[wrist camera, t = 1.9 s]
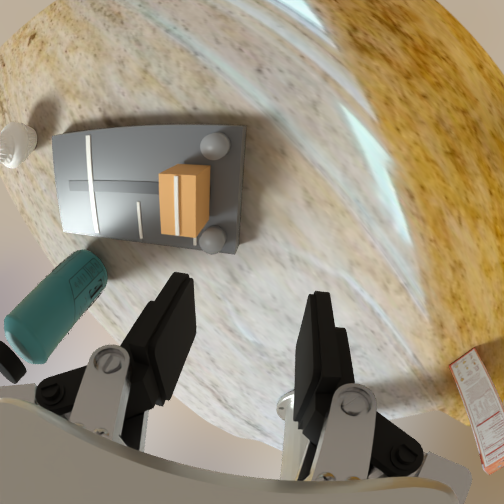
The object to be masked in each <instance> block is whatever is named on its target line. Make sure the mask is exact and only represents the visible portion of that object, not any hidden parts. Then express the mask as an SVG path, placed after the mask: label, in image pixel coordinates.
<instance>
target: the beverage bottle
mask: <svg viewBox="0 0 504 504" xmlns="http://www.w3.org/2000/svg"><path fill="white" fill-rule="evenodd" d="M107 279H108V277H107V272H106V269H105V267H104V265H103V263H102V262H101V260H100V259H99V258H98V257H97V256H96V255H95V254H93V253H92V252H90V251H88V250H77V251H76V252H73V253H72V254H71V256H69V257H67V258H66V260H65V259H64V261H63V262H62V263H60V264H59V265H58V266H57V267H56V268H55V269H54V270H53V271H52V272H51V273H50V274H49V275H48V276H46V278H45V279H44V280H43V281H41V282H40V283H39V284H38V286H37V287H36V288H35V289H34V290H32V291H31V293H29V294H28V295H27V296H26V297H25V298H24V299H23V300H22V302H20V303H19V304H18V306H16V307H15V309H14V310H13V311H12V312H11V313H10V314H9V315H7V316H6V317H5V319H4V330H5V336H6V339H7V341H8V342H9V344H10V345H11V347H12V348H13V349H14V350H15V352H16V353H17V354H18V355H19V356H20V357H21V358H22V359H24V360H25V361H27V362H28V363H31V364H44V363H46V361H47V360H48V357H49V356H50V355H51V353H52V352H53V351H54V349H55V348H56V347H57V345H58V344H59V343H60V342H61V340H62V339H63V338H64V336H65V335H66V334H67V333H68V331H69V330H70V329H71V328H72V327H73V325H74V324H75V323H76V322H77V320H78V319H80V317H81V315H82V314H83V313H84V312H85V311H86V309H87V310H88V308H89V306H91V305H92V304H93V303H94V302H95V301H94V300H95V299H97V298H98V297H99V296H100V295H99V294H100V293H102V290H103V289H104V288H106V287H105V286H106V284H107ZM103 291H104V290H103ZM97 296H98V297H97ZM96 297H97V298H96ZM92 302H93V303H92ZM91 303H92V304H91ZM68 334H69V333H68ZM0 372H1V373H2V374H3V375H4V376H5V377H6V378H7V379H8V380H9V381H10V382H12V383H14V384H16V383H17V382H18V381H19V380H20V379H21V378H22V377H23V376H24V375H25V373H26V368H25V366H24V365H23V363H22V362H21V361H20V359H19V358H18V357H17V356H16V354H15V353H14V352H13V351H12V350H11V349H10V348H9V347H8V346H7V345H6V344H5V343H3V342H2V341H0Z"/></svg>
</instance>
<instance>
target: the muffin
mask: <svg viewBox="0 0 504 504" xmlns="http://www.w3.org/2000/svg"><path fill="white" fill-rule="evenodd" d="M36 144H37V134H36V132H35V130H34V129H33V128H31V127H29V126H27V125H25V124H23V123H19V122H17V121H13V122H10V123H8V124H7V125H6V126H5V127H4V128H3V130H2V131H1V133H0V163H3V164H4V165H5V166H6V167H8V168H16V167H18V166H19V165H20V164H21V163H22V162H24V161H25V160H26V159H27V158H28V156H29V155H30V154H31V153H32V151H33V150H34V149H35V147H36Z"/></svg>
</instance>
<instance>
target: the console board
mask: <svg viewBox="0 0 504 504" xmlns="http://www.w3.org/2000/svg"><path fill="white" fill-rule="evenodd" d="M245 139H246V126H241V125H222V124H153V125H134V126H120V127H109V128H99V129H91V130H83V131H76V132H69V133H63V134H59V135H54V136H52V149H53V163H54V173H55V182H56V190H57V197H58V204H59V210H60V216H61V221H62V227H63V232H68V233H75V234H83V235H90V236H97V237H105V238H112V239H120V240H127V241H135V242H143V243H150V244H158V245H165V246H173V247H181V248H188V249H196V250H203V251H204V252H206V253H208V254H217V253H227V254H236V251H237V248H238V246H239V231H240V214H241V198H242V183H243V168H244V154H245ZM177 164H192V165H210V201H209V220H208V222H207V223H206V225H205V226H204V227H203V229H202V230H201V231H200V233H199V234H198V236H197V237H196V238H192V237H184V236H176V235H167V234H161V221H160V202H159V173H161V172H163V171H165V170H167V169H169V168H171V167H173V166H175V165H177Z"/></svg>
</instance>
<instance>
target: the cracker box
mask: <svg viewBox="0 0 504 504" xmlns="http://www.w3.org/2000/svg"><path fill="white" fill-rule="evenodd" d="M449 368H450V371H451V373H452V375H453V377H454V380H455V382H456V385H457V388H458V390H459V393H460V395H461V398H462V400H463V403H464V406H465V409H466V412H467V414H468V417H469V420H470V424H471V427H472V430H473V433H474V436H475V440H476V443H477V447H478V451H479V455H480V459H481V463H482V467H483V470H484V471H485V472H486V473H487V474H488V475H490V474H492V473H494V472H496V471H497V470H499V469H501V468H502V467H504V407H503V404H502V402H501V399H500V397H499V395H498V393H497V390H496V388H495V386H494V384H493V382H492V380H491V378H490V376H489V374H488V372H487V370H486V368H485V366H484V364H483V362H482V360H481V358H480V356H479V354H478V352H477V351H476V349H475V348H473V349H472V350H470V351H469V352H468V353H466V354H465V355H463V356H462V357H461V358H459V359H458V360H456V361H455V362H453V363H452V364H450V365H449Z"/></svg>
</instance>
